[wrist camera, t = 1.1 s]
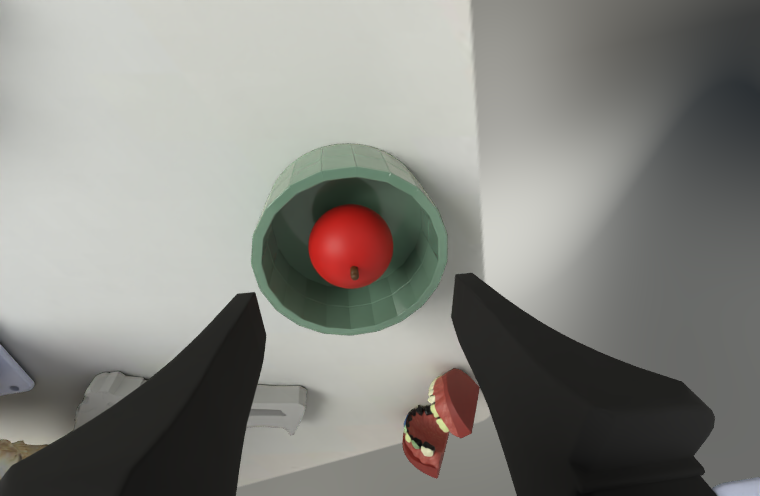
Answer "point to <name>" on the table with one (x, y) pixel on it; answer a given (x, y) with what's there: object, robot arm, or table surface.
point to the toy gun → (266, 411)
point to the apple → (350, 246)
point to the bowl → (331, 189)
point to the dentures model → (440, 420)
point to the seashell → (14, 453)
